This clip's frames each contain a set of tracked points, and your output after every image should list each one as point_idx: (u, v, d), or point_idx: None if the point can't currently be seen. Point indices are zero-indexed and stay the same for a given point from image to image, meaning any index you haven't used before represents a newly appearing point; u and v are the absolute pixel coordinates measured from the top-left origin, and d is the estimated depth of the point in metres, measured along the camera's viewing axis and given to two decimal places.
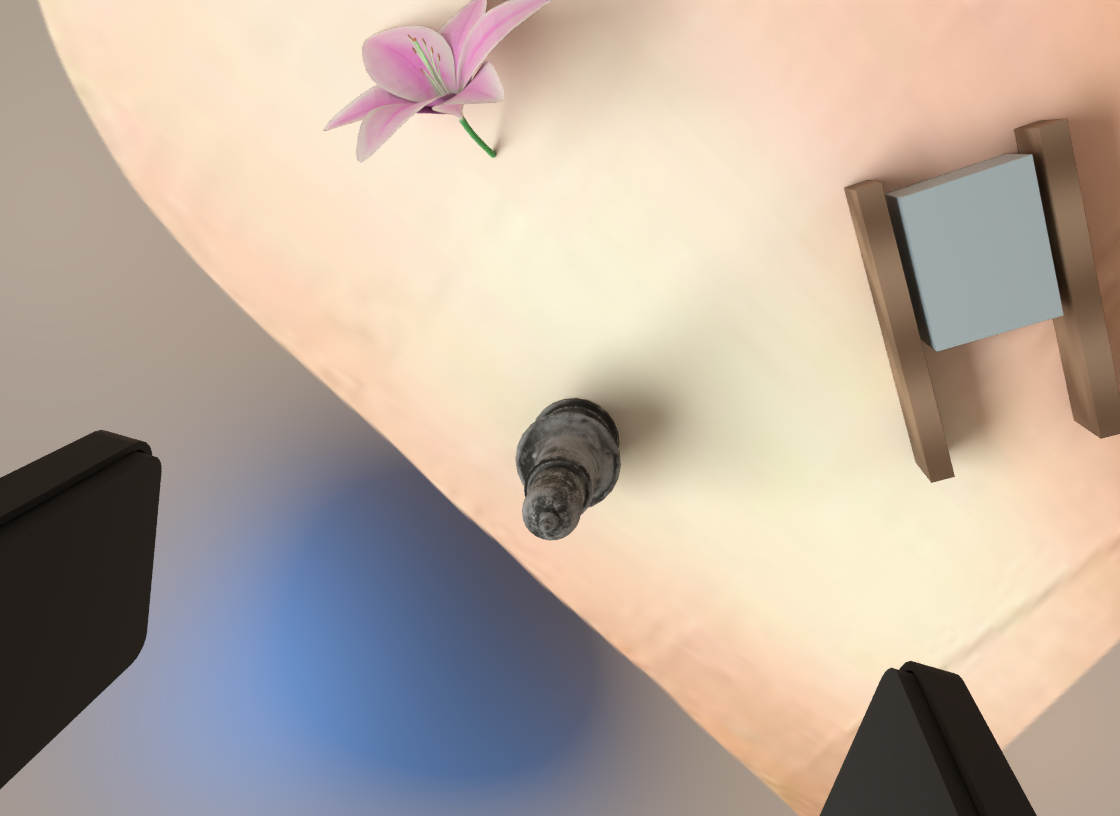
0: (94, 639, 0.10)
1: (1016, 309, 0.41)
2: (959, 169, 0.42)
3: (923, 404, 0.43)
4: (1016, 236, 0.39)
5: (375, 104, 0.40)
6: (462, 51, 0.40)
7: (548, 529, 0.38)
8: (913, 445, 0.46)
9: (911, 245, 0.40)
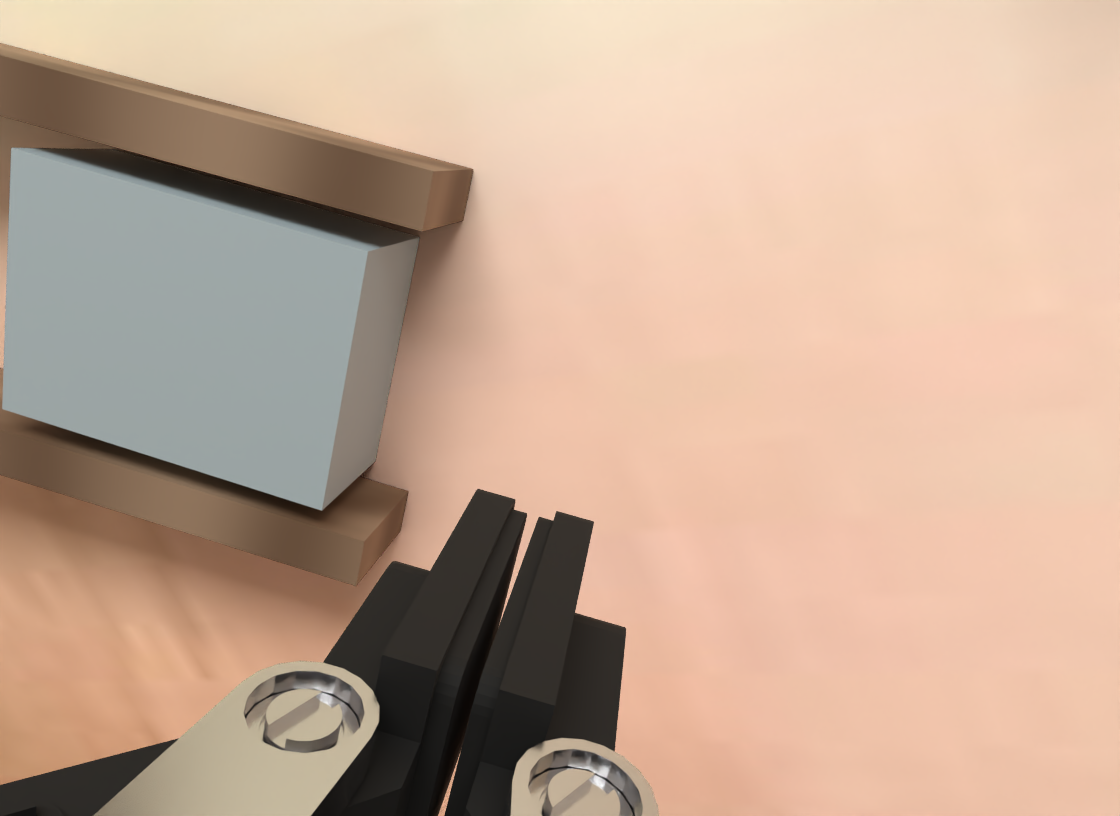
0: (479, 680, 0.10)
1: (42, 340, 0.18)
2: (388, 381, 0.21)
3: None
4: (185, 411, 0.18)
5: None
6: None
7: None
8: None
9: (259, 219, 0.17)
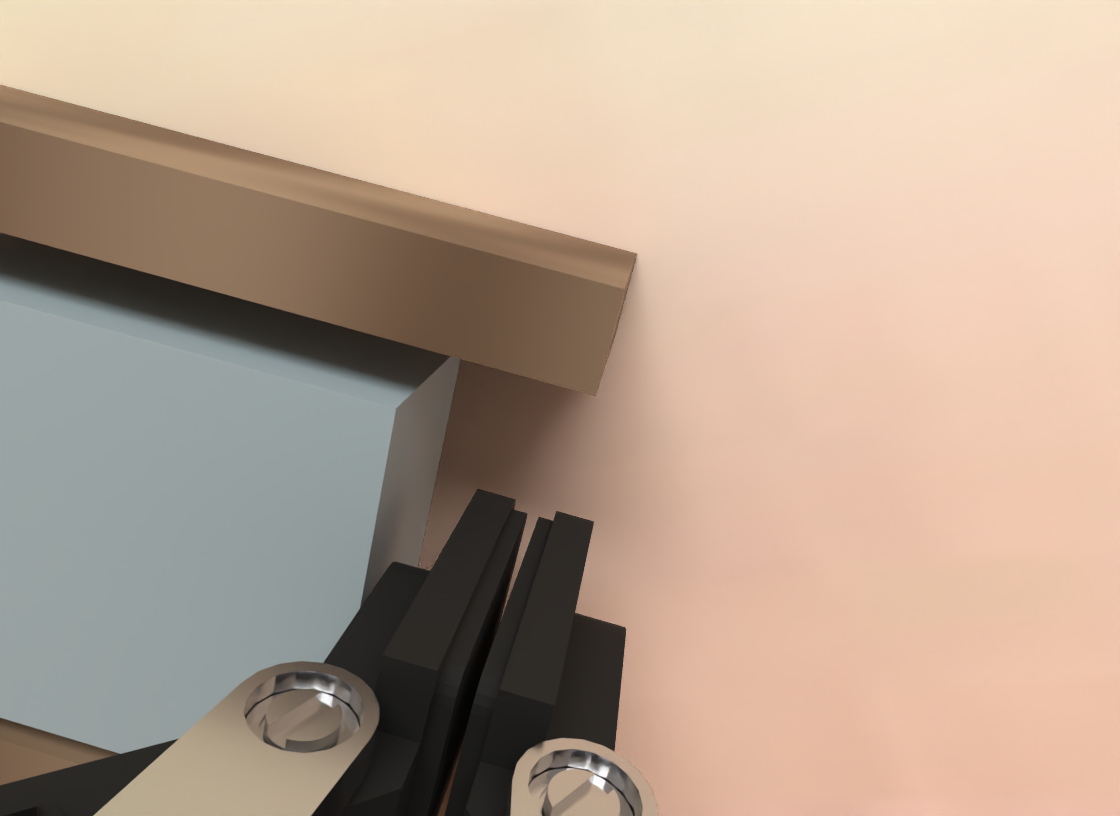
0: (479, 680, 0.10)
1: None
2: (418, 561, 0.13)
3: None
4: (86, 661, 0.11)
5: None
6: None
7: None
8: None
9: (196, 351, 0.09)
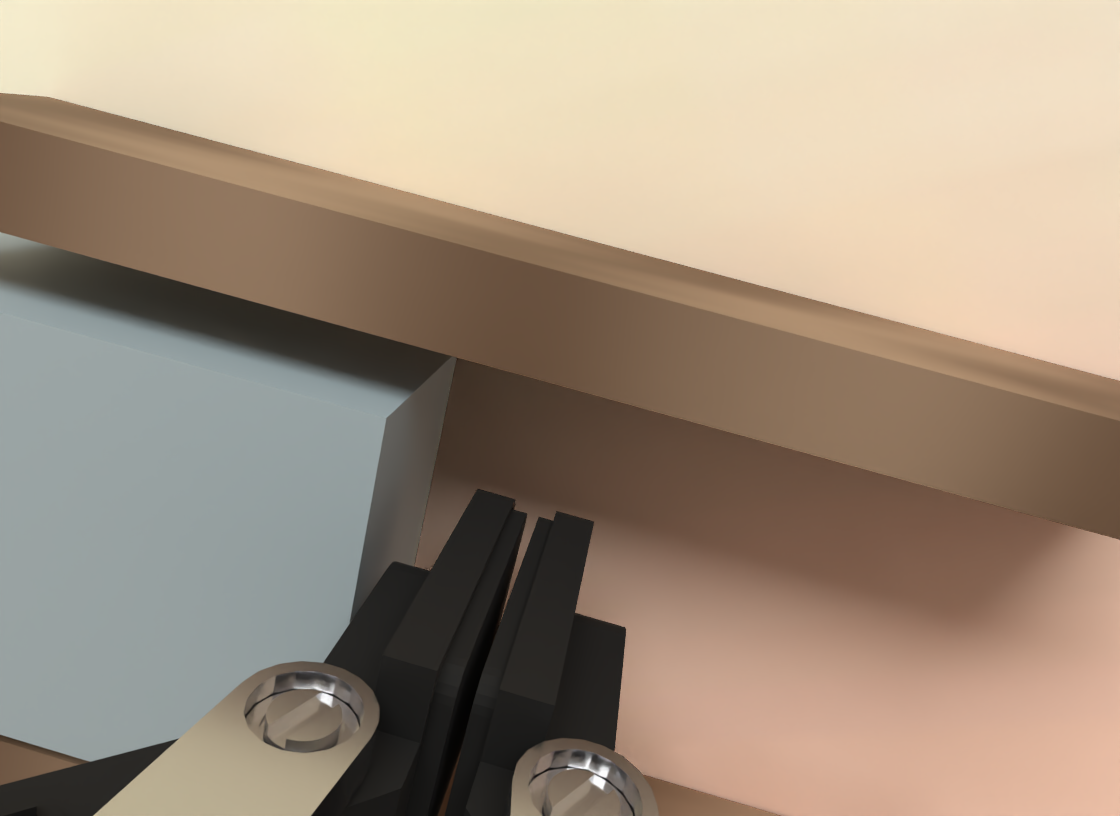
0: (479, 680, 0.10)
1: None
2: None
3: (226, 236, 0.09)
4: (72, 673, 0.11)
5: None
6: None
7: None
8: (105, 118, 0.11)
9: (185, 360, 0.09)
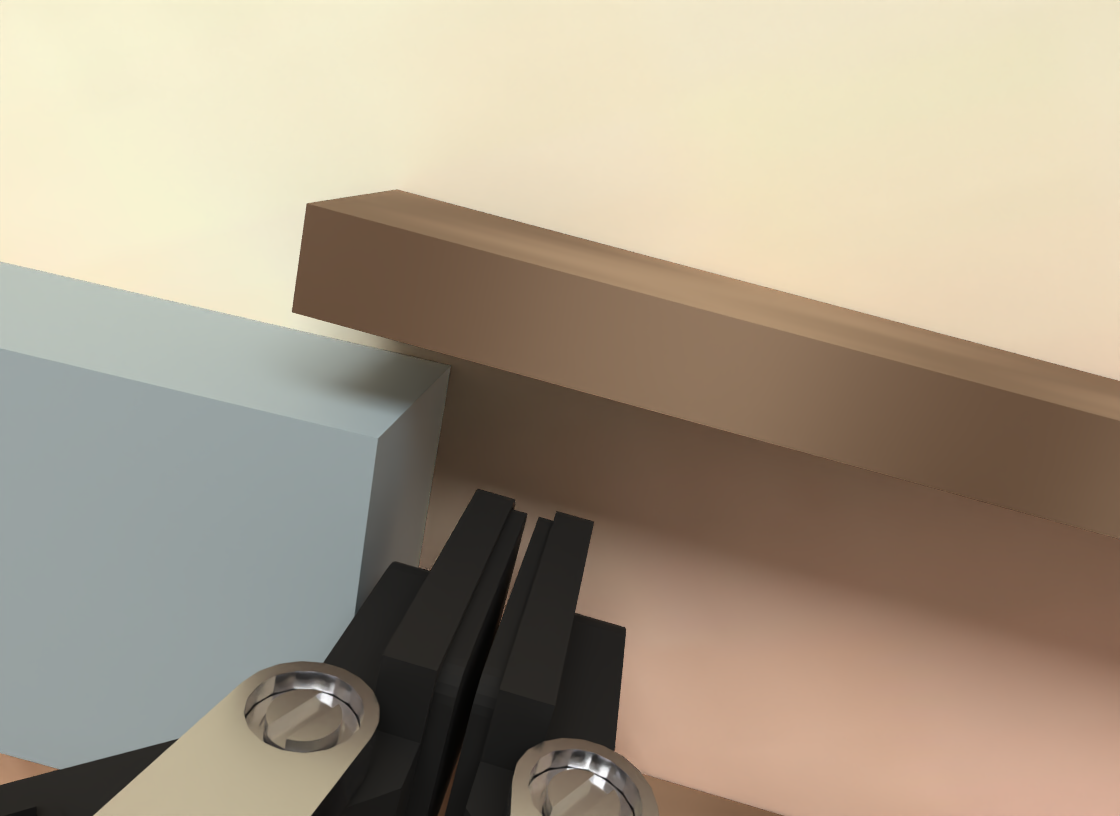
0: (479, 680, 0.10)
1: None
2: None
3: (696, 364, 0.09)
4: (84, 696, 0.11)
5: None
6: None
7: None
8: (475, 217, 0.11)
9: (179, 388, 0.09)
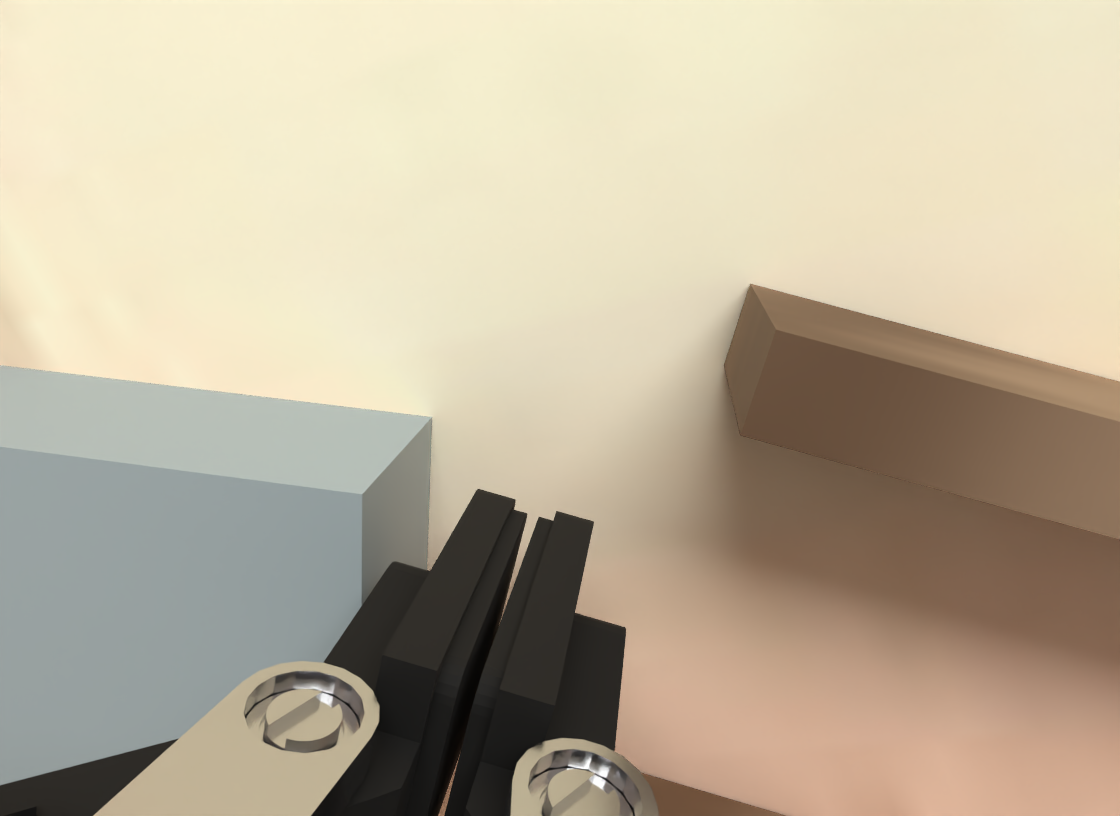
0: (479, 680, 0.10)
1: None
2: None
3: None
4: None
5: None
6: None
7: None
8: (852, 317, 0.11)
9: (175, 467, 0.10)
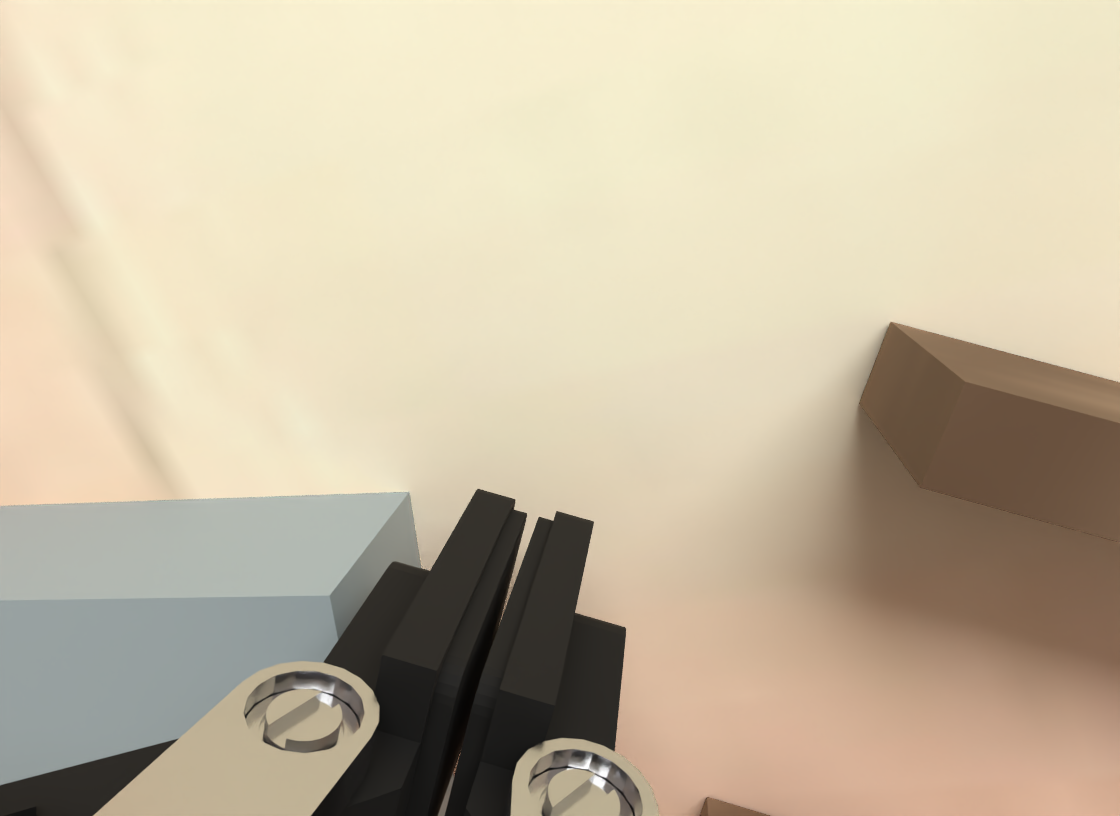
0: (479, 680, 0.10)
1: None
2: None
3: None
4: None
5: None
6: None
7: None
8: (1003, 358, 0.10)
9: (151, 595, 0.10)
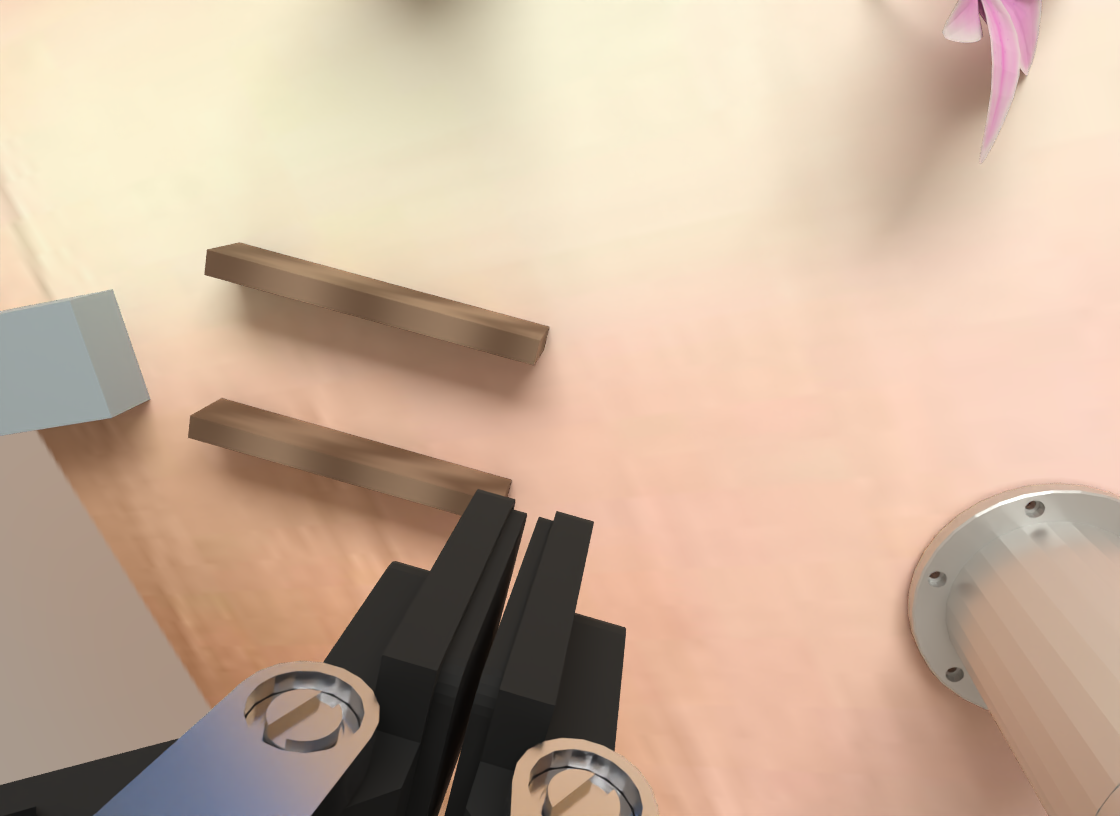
0: (479, 680, 0.10)
1: None
2: (134, 358, 0.43)
3: (295, 286, 0.38)
4: (41, 402, 0.41)
5: None
6: (1004, 10, 0.31)
7: None
8: (258, 250, 0.40)
9: (27, 308, 0.40)
